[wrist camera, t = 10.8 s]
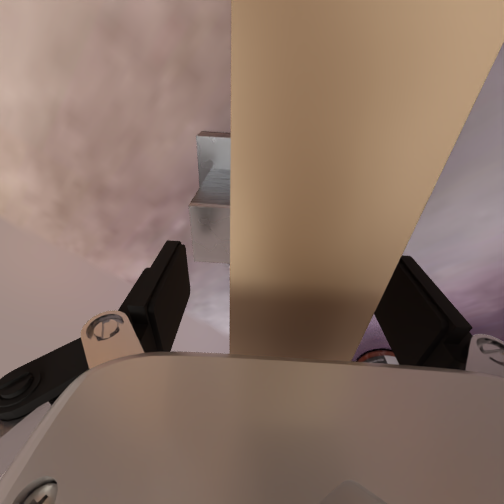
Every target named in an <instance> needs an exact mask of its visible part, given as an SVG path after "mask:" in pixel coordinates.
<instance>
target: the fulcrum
mask: <svg viewBox="0 0 504 504" xmlns="http://www.w3.org/2000/svg"><path fill="white" fill-rule="evenodd" d="M196 141H197V156H198V171H199V186H200V188H199V190H198V191H197V193H196V195H195V196H194V198H193V199H192V201H191V203H190V204H189V215H190V225H191V236H192V246H193V257H194V261H197V262H213V263H228V264H230V175H231V133H219V132H204V131H202V132H200V133H199V134H198V135H197V136H196Z"/></svg>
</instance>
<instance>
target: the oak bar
mask: <svg viewBox="0 0 504 504" xmlns="http://www.w3.org/2000/svg"><path fill="white" fill-rule="evenodd" d="M503 42H504V0H231V175H230V354H240V355H257V356H274V357H291V358H306V359H322V360H338V361H351V360H352V358H353V356H354V354H355V352H356V350H357V348H358V346H359V344H360V341H361V339H362V337H363V335H364V333H365V331H366V329H367V327H368V325H369V323H370V321H371V318H372V316H373V314H374V312H375V310H376V308H377V306H378V304H379V302H380V300H381V298H382V295H383V293H384V291H385V289H386V287H387V285H388V283H389V281H390V279H391V277H392V275H393V272H394V270H395V268H396V266H397V264H398V262H399V260H400V258H401V256H402V254H403V252H404V249H405V247H406V245H407V243H408V241H409V239H410V237H411V235H412V233H413V231H414V228H415V226H416V224H417V222H418V220H419V218H420V216H421V214H422V212H423V210H424V208H425V205H426V203H427V201H428V199H429V197H430V195H431V193H432V191H433V189H434V187H435V185H436V182H437V180H438V178H439V176H440V174H441V172H442V170H443V168H444V166H445V164H446V162H447V159H448V157H449V155H450V153H451V151H452V149H453V147H454V145H455V143H456V141H457V139H458V136H459V134H460V132H461V130H462V128H463V126H464V124H465V122H466V120H467V118H468V116H469V113H470V111H471V109H472V107H473V105H474V103H475V101H476V99H477V97H478V95H479V92H480V90H481V88H482V86H483V84H484V82H485V80H486V78H487V76H488V74H489V72H490V69H491V67H492V65H493V63H494V61H495V59H496V57H497V55H498V53H499V51H500V49H501V46H502V44H503Z"/></svg>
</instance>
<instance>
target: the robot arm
mask: <svg viewBox="0 0 504 504" xmlns="http://www.w3.org/2000/svg"><path fill="white" fill-rule="evenodd" d="M189 296H190V282H189V274H188V265H187V256H186V248H185V245H181V242H180V241H166V243H165V244H164V246H163V248H162V249H161V251H160V253H159V254H158V256H157V258H156V259H155V261H154V262H153V264H152V266H151V267H150V268H145V270H144V271H143V272H142V274H141V275H140V277H139V279H138V280H137V282H136V283H135V285H134V286H133V288H132V289H131V291H130V293H129V294H128V296H127V297H126V299H125V300H124V302H123V304H122V305H121V307H120V308H119V310H118V311H106V312H103V313H100V314H98V315H96V316H94V317H93V318H91V319H90V320H89V321H87V323H86V324H85V325H84V326H83V328H82V330H81V338H79V339H77V340H75V341H72V342H70V343H68V344H66V345H64V346H62V347H60V348H58V349H56V350H54V351H52V352H50V353H48V354H46V355H44V356H42V357H40V358H38V359H36V360H33V361H31V362H29V363H27V364H25V365H23V366H21V367H19V368H17V369H15V370H13V371H11V372H10V373H8V374H7V375H5V376H4V377H2V378H1V379H0V477H1V475H2V474H3V473H4V472H5V471H6V470H7V471H6V472H5V474H4V475H3V477H2V478H1V480H0V504H504V342H503V341H501V340H499V339H497V338H494V337H492V336H489V335H484V334H476V335H474V336H472V335H471V333H470V332H469V331H470V330H471V329H472V326H471V325H470V324H469V323H468V322H467V321H466V319H465V318H464V317H463V316H462V315H461V314H460V313H459V311H458V310H457V309H456V308H455V307H454V306H453V304H452V303H451V302H450V301H449V300H448V299H447V297H446V296H445V295H444V294H443V293H442V292H441V291H440V289H439V288H438V287H437V286H436V285H435V284H434V282H433V281H432V280H431V279H430V278H429V277H428V275H427V274H426V273H425V272H424V271H423V270H422V269H421V267H420V266H419V265H418V264H417V263H416V262H415V260H414V259H413V258H412V257H411V256H401V258H400V260H399V262H398V264H397V266H396V268H395V270H394V272H393V275H392V277H391V279H390V281H389V283H388V285H387V287H386V289H385V291H384V293H383V295H382V298H381V300H380V302H379V304H378V306H377V308H376V310H375V312H374V314H375V316H376V318H377V320H378V322H379V324H380V326H381V329H382V331H383V333H384V335H385V337H386V339H387V341H388V343H389V345H390V347H391V349H392V351H393V353H394V355H395V357H396V359H397V361H398V363H399V365H396V364H382V363H367V362H353V361H338V360H322V359H306V358H291V357H274V356H257V355H240V354H223V353H201V352H170V351H171V348H172V345H173V342H174V339H175V336H176V333H177V331H178V328H179V325H180V322H181V319H182V316H183V313H184V310H185V308H186V305H187V302H188V299H189Z"/></svg>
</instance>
